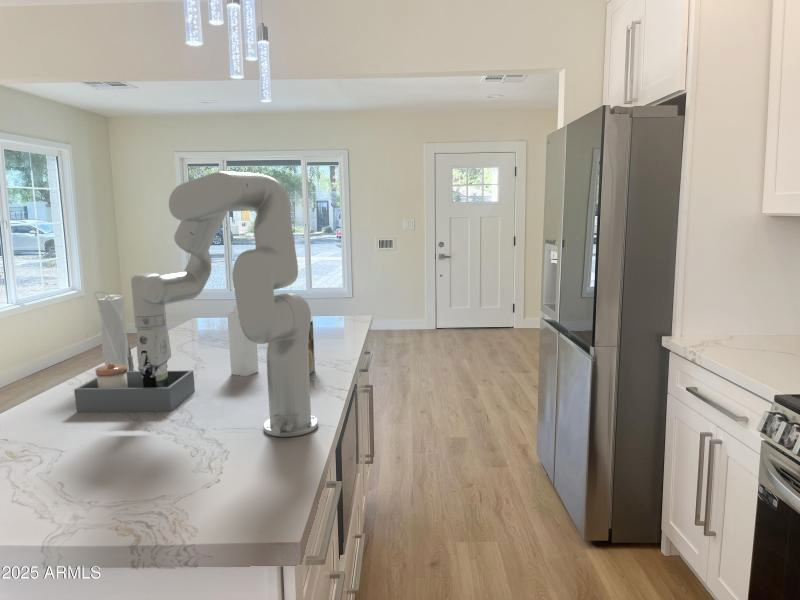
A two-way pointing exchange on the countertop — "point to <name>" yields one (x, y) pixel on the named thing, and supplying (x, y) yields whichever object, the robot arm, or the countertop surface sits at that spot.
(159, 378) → the grey green cylinder
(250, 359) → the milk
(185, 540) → the countertop surface
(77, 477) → the countertop surface
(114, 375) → the lidded jar
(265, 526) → the countertop surface
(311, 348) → the coffee box
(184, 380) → the tote
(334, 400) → the countertop surface
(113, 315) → the skyscraper
